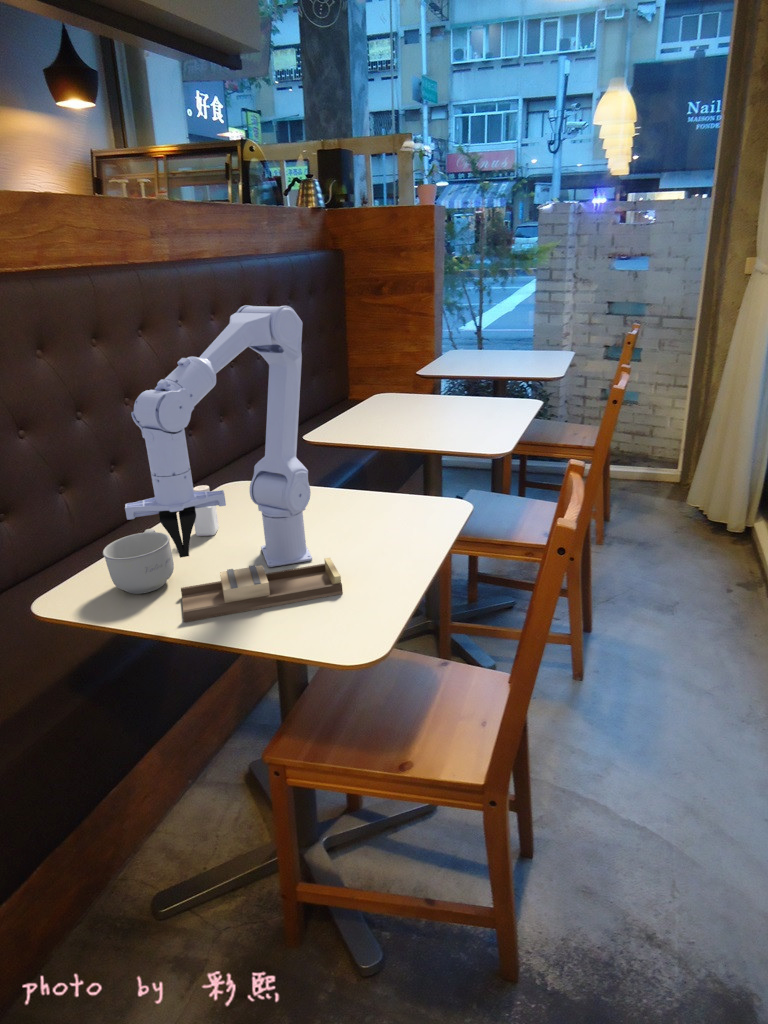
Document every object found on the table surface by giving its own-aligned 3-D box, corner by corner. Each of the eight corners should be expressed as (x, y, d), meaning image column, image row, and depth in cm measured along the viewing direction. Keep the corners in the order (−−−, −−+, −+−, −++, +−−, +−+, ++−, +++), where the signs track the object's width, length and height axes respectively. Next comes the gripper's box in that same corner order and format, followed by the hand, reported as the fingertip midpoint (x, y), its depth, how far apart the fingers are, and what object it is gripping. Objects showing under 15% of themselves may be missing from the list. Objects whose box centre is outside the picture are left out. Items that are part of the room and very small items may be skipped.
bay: (182, 597, 123) (179, 581, 122) (330, 571, 129) (329, 556, 128) (184, 622, 115) (181, 605, 114) (342, 593, 121) (341, 577, 120)
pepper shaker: (215, 536, 147) (208, 490, 144) (195, 537, 148) (188, 491, 144) (219, 528, 151) (213, 484, 148) (200, 529, 151) (193, 485, 148)
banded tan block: (222, 589, 124) (219, 570, 122) (264, 582, 125) (262, 563, 124) (226, 608, 117) (223, 588, 116) (270, 600, 119) (268, 581, 118)
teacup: (159, 602, 122) (151, 557, 119) (98, 599, 124) (89, 555, 121) (194, 565, 135) (187, 524, 132) (139, 564, 137) (131, 523, 134)
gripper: (118, 485, 106) (135, 572, 111) (222, 471, 109) (234, 556, 114) (120, 471, 112) (135, 554, 117) (218, 459, 116) (229, 540, 121)
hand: (184, 554), depth 116 cm, fingers closed
